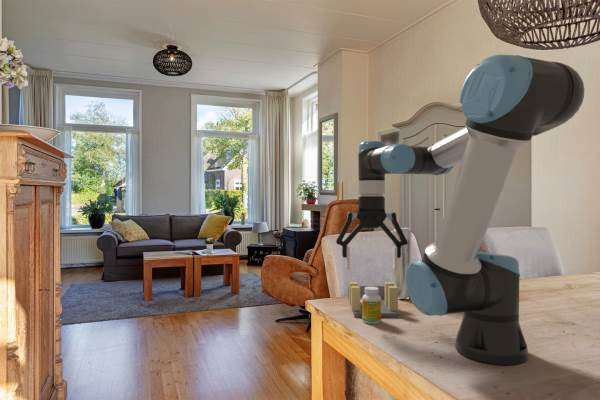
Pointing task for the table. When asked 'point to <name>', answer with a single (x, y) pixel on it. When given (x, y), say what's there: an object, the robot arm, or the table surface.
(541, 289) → the table surface
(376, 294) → the supplement bottle
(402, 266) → the chrome rod
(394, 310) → the grey holder rack
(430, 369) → the table surface
